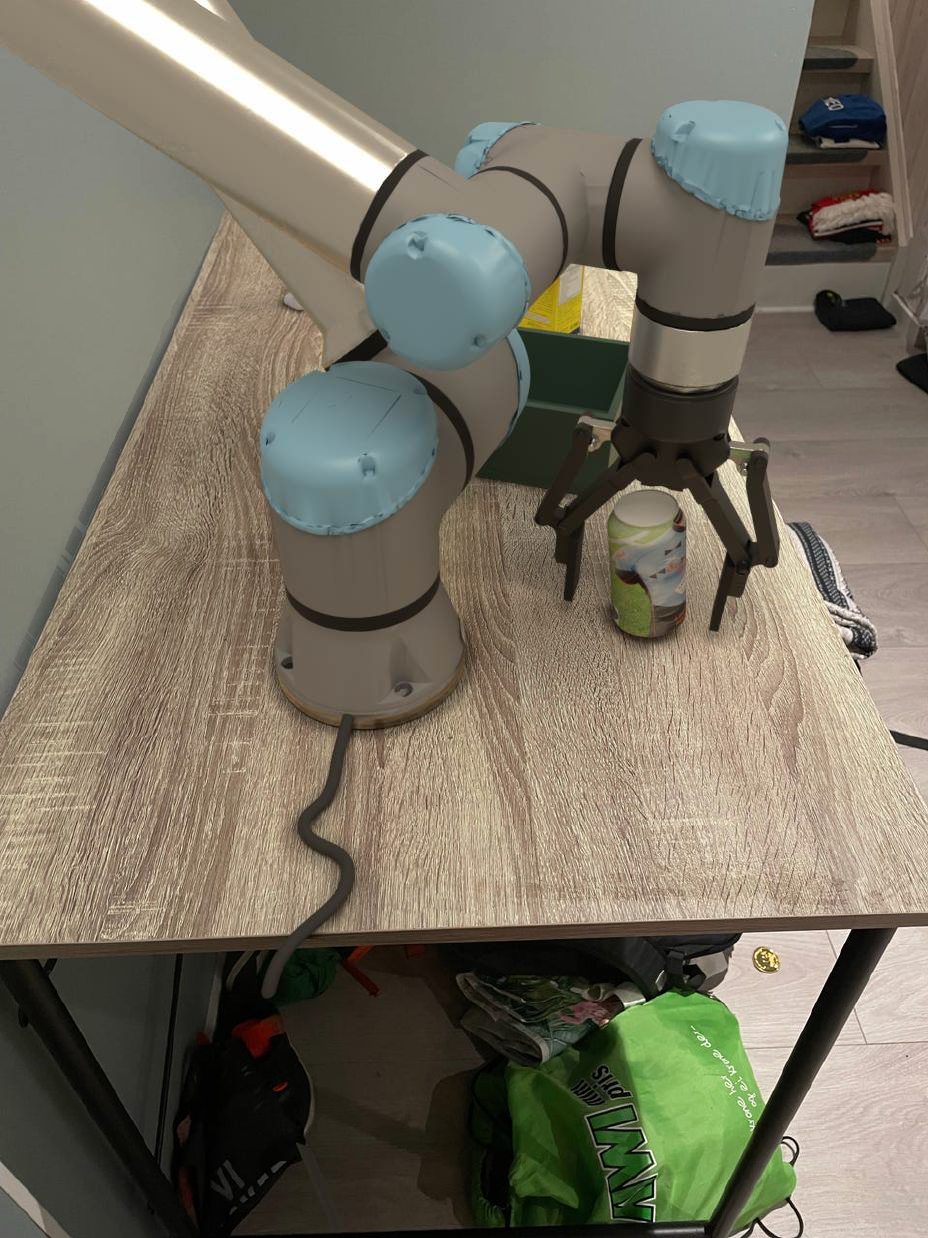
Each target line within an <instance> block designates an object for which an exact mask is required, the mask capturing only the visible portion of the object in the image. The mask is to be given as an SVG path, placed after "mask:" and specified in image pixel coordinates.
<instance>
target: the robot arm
mask: <svg viewBox="0 0 928 1238" xmlns="http://www.w3.org/2000/svg"><path fill="white" fill-rule="evenodd" d="M0 48H1V49H2V50H5V51H6V52H8V53H9V54H11V55H12V56H13V57H15V58H17V59H18V60H20V61H21V62H23V63H25V65H28V66H29V67H30V68H32V69H34V70H35V71H36V72H38V73H40V74H41V75H43V76H44V77H45V78H47V79H48V80H50V81H52V82H53V83H55V84H56V85H58V86H59V87H61V88H62V89H64V90H65V91H66V92H69V93H70V94H72V95H73V96H74V97H76V98H77V99H79V100H80V101H82V102H84V103H86V104H87V105H88V106H90V107H92V108H93V109H95V110H96V111H98V112H99V113H100V114H102V115H103V116H105V117H107V118H108V119H110V120H112V121H113V122H114V123H116V124H117V125H119V126H121V127H122V128H124V129H125V130H126V131H128V132H130V133H131V134H133V135H134V136H136V137H137V138H138V139H141V140H142V141H143V142H145V143H146V144H148V145H149V146H151V147H153V148H154V149H155V150H157V151H158V152H160V153H161V154H162V155H164V156H166V157H167V158H169V159H171V160H172V161H173V162H175V163H177V164H179V165H180V166H181V167H183V168H185V169H186V170H187V171H189V172H190V173H192V174H193V175H195V176H196V177H198V178H200V179H202V181H204V182H205V183H206V184H207V186H208V187H209V188H210V189H211V191H212V192H213V194H214V195H215V196H216V198H217V199H218V200H219V201H220V202H221V204H222V205H223V206H224V208H225V210H227V212H228V214H230V216H231V217H232V218H233V220H234V221H235V222H236V223H237V225H238V226H239V228H240V229H241V230H242V232H243V233H244V234H245V235H246V236H247V238H248V239H249V240H250V242H251V244H252V245H253V246H254V247H255V248H256V249H257V251H258V252H259V253H260V255H261V256H262V257H263V259H264V260H265V261H266V263H267V264H268V265H269V266H270V268H271V269H272V271H273V272H274V273H275V275H276V276H277V277H278V279H279V280H280V281H281V283H282V282H283V284H284V285H285V286H286V287H287V288H286V290H288V291H289V293H291V294H292V295H293V297H294V298H295V299H296V301H297V302H298V303H299V305H300V306H301V307H302V308H303V310H302V311H304V313H305V314H306V315H307V317H308V318H309V319H310V320H311V321H312V323H313V325H315V328H317V330H318V331H319V332H320V333H321V338H322V350H321V351H322V352H321V363H320V366H321V367H322V369H323V370H324V371H321V370H318V369H315V370H312V371H310V372H308V373H306V374H304V375H302V376H300V377H298V378H297V379H296V380H294V381H292V382H291V383H290V384H288V385H287V386H285V388H283V389H282V390H280V392H279V393H278V394H277V395H276V397H275V398H274V399H273V400H272V402H271V403H270V405H268V408H267V409H266V411H265V414H264V416H263V418H262V422H261V425H260V430H259V451H260V479H261V483H262V489H263V492H264V495H265V497H266V500H267V505H268V510H269V515H270V520H271V524H272V525H271V526H272V530H273V535H274V541H275V545H276V550H277V555H278V560H279V565H280V570H281V573H282V574H281V575H282V580H283V584H284V589H285V590H284V591H285V597H284V601H283V606H282V609H281V614H280V618H279V622H278V626H277V631H276V634H275V638H274V643H273V660H274V666H275V670H276V675H277V678H278V683H279V685H280V687H281V689H282V691H283V693H284V695H285V696H286V697H287V699H288V700H289V701H290V702H291V703H292V705H294V706H295V707H296V708H297V709H299V711H301V712H302V713H303V714H305V715H307V716H309V717H310V718H312V719H314V720H317V721H319V722H321V723H324V724H327V725H331V726H334V727H338V730H337V735H336V738H335V742H334V746H333V749H332V753H331V758H330V762H329V768H328V773H327V778H326V782H325V784H324V788H323V790H322V791H321V794H319V796H318V797H317V798H316V799H315V800H314V801H313V802H311V803H310V804H309V805H308V806H307V807H306V808H305V809H304V810H303V811H302V813H301V814H300V816H299V817H298V820H297V826H296V827H297V832H298V835H299V837H300V839H301V840H302V842H303V843H305V845H306V846H307V847H310V848H311V849H312V850H315V852H318V853H321V854H323V855H324V856H327V857H329V858H331V859H333V860H334V861H335V862H336V863H338V865H339V866H340V879H339V883H338V885H337V887H336V890H335V891H334V893H333V894H332V895H331V897H330V898H329V899H328V900H327V901H326V902H325V903H324V904H322V905H321V906H320V907H319V908H318V909H317V910H315V912H313V914H311V915H310V916H309V917H307V918H306V919H305V920H304V921H303V922H302V923H301V924H300V925H298V927H296V928H295V929H294V930H293V931H292V932H291V933H290V934H289V935H288V936H287V937H286V939H285V940H284V941H283V942H282V944H280V946H279V947H278V949H277V950H276V952H275V954H274V955H273V957H272V959H271V960H270V963H269V965H268V968H267V970H266V972H265V975H264V978H263V982H262V986H261V991H260V992H261V996H262V998H264V999H266V1000H267V999H270V998H272V997H273V996H274V995H276V992H277V988H278V986H279V982H280V978H281V976H282V973H283V971H284V968H285V966H286V964H287V963H288V961H289V960H290V958H291V957H292V955H293V954H294V953H295V951H296V950H297V949H298V948H299V947H300V946H301V944H303V943H304V941H306V940H307V939H308V938H309V937H311V935H312V934H313V933H314V932H316V930H318V929H319V928H320V927H321V926H323V925H324V924H325V923H326V922H327V921H328V920H329V919H331V917H333V915H335V914H336V913H337V912H338V911H339V910H340V908H341V907H342V906H343V904H344V903H345V902H346V900H347V899H348V897H349V896H350V894H351V892H352V889H353V886H354V882H355V874H356V873H355V872H356V869H355V864H354V860H353V858H352V857H351V855H350V853H348V852H347V851H346V849H344V848H342V846H339V845H338V844H335V843H334V842H332V841H329V840H327V839H325V838H323V837H321V836H320V835H318V834H316V833H315V832H313V830H312V826H311V825H312V824H311V823H312V821H313V820H314V819H315V818H316V817H317V816H318V815H319V814H320V813H322V812H323V811H324V810H325V809H326V808H327V807H328V806H329V805H330V804H331V802H332V801H333V799H334V797H335V795H336V793H337V790H338V787H339V785H340V781H341V778H342V777H341V776H342V772H343V763H344V759H345V755H346V750H347V747H348V743H349V739H350V735H351V731H352V730H375V729H384V728H389V727H394V726H398V725H403V724H404V723H408V722H411V721H413V720H415V719H418V718H420V717H421V716H423V715H426V714H427V713H429V712H431V711H432V710H433V709H435V708H437V706H439V705H440V704H441V703H443V702H444V701H445V700H446V699H447V697H449V696H450V694H451V693H452V692H453V691H454V690H455V688H456V687H457V685H458V683H459V681H460V679H461V678H462V675H463V673H464V669H465V665H466V664H465V663H466V645H467V640H466V633H465V627H464V626H465V625H464V620H463V619H464V618H463V616H462V614H461V612H460V609H459V608H457V609H458V613H457V611H456V609H455V607H454V605H453V602H452V600H451V598H450V596H449V594H448V591H447V589H446V587H445V585H444V583H443V581H442V578H441V553H440V552H441V551H440V527H441V524H442V521H443V519H444V517H445V514H446V513H447V512H448V510H449V509H450V508H451V507H452V506H453V504H454V502H455V501H456V500H457V499H458V497H459V496H460V495H461V494H462V492H463V491H464V490H465V489H466V488H467V487H468V485H469V484H470V483H471V482H472V480H473V479H474V478H475V477H476V476H475V475H476V474H477V472H478V471H479V470H480V468H481V467H482V466H483V465H484V463H485V462H486V461H487V459H488V458H489V457H490V455H491V454H492V453H493V452H494V450H497V449H498V448H499V447H500V446H501V445H502V444H503V442H504V441H505V440H506V439H507V437H508V436H509V435H510V433H511V432H512V430H513V428H514V426H515V423H516V421H517V419H518V417H519V415H520V414H521V412H522V410H523V408H524V406H525V403H526V401H527V397H528V392H529V386H530V366H529V360H528V355H527V352H526V349H525V346H524V344H523V341H522V339H521V337H520V335H519V333H518V332H517V330H516V327H518V325H519V324H520V323H521V321H522V320H523V318H524V316H525V314H526V312H527V311H528V310H529V308H530V307H531V306H532V305H533V304H534V303H535V302H536V300H537V299H538V298H539V297H540V296H541V295H542V294H543V293H544V292H545V290H547V289H548V288H549V287H550V286H551V285H552V284H553V283H554V282H555V281H556V280H557V279H558V278H559V276H560V275H561V274H562V273H563V272H564V271H565V270H566V269H567V268H568V267H569V265H570V264H576V265H583V266H585V267H589V268H596V269H600V270H601V269H603V270H608V271H614V272H618V273H619V272H628V273H632V274H636V290H635V298H634V303H633V310H632V319H631V327H630V334H629V342H630V343H629V351H628V358H629V364H628V365H627V368H626V374H625V382H624V390H623V398H622V406H621V414H620V417H619V418H618V419H617V420H616V422H609V421H603V420H597V419H596V415H595V414H594V413H593V412H591V411H584V412H583V413H582V414H581V416H580V418H579V420H578V423H577V425H576V427H575V430H574V432H573V440H572V448H571V449H570V451H569V453H568V455H567V456H566V458H565V460H564V462H563V463H562V465H561V467H560V469H559V470H558V472H557V474H556V476H555V477H554V479H553V481H552V483H551V484H550V486H549V488H548V489H546V491H545V493H544V495H543V497H542V498H541V501H540V503H539V505H538V508H537V510H536V512H535V515H534V517H533V522H534V524H535V525H537V526H539V527H546V526H548V527H550V528H552V529H553V531H554V532H555V545H554V547H555V548H554V557H553V559H554V560H555V563H556V564H559V565H560V564H561V565H566V567H565V574H564V575H565V577H564V586H563V596H562V597H563V598H562V601H564V602H570V603H573V601H574V598H575V595H576V592H577V590H578V585H579V583H580V576H581V575H580V573H581V567H582V557H583V556H582V555H583V547H584V537H585V529H586V527H585V526H586V521H587V520H588V519H589V518H591V516H592V515H594V514H595V513H596V512H597V511H598V510H599V509H600V508H602V507H603V506H604V505H605V504H606V503H608V502H609V501H610V500H611V499H612V498H613V497H614V496H615V495H616V494H618V493H619V492H622V491H625V489H627V488H628V487H629V486H630V485H631V484H632V483H633V482H634V481H635V480H636V481H638V482H639V483H640V486H643V487H650V488H652V487H663V488H665V489H668V490H670V491H673V492H679V493H680V492H681V493H683V492H684V490H688V491H689V492H690V494H691V496H692V497H693V499H694V501H695V503H696V504H697V505H699V506H701V508H702V509H703V511H704V513H705V515H706V517H707V519H708V520H709V522H710V524H711V526H712V528H713V529H714V530H715V532H716V534H717V537H718V538H719V540H720V541H721V543H722V545H723V547H724V548H725V550H726V553H725V556H724V560H723V565H722V568H721V572H720V577H719V581H718V585H717V589H716V593H715V597H714V601H713V605H712V609H711V615H710V620H709V626H708V631H711V632H717V633H718V632H719V630H720V626H721V622H722V619H723V615H724V611H725V607H726V603H727V599H728V597H731V598H736V599H740V598H741V597H742V596H743V595H744V593H745V589H746V586H747V582H748V578H749V575H750V574H751V572H752V568H754V567H757V566H763V567H764V568H766V569H773V568H776V567H777V566H778V564H779V559H780V550H781V549H780V548H781V539H780V534H779V529H778V523H777V518H776V514H775V507H774V502H773V498H772V492H771V487H770V481H769V477H768V472H767V469H768V464H769V457H770V452H771V451H770V449H771V442H770V440H769V438H766V437H763V436H762V437H761V436H760V437H756V439H754V440H753V442H745V441H739V440H738V441H737V440H732V438H731V437H732V436H731V435H730V432H729V431H730V430H729V428H730V423H731V419H732V415H733V408H734V404H735V401H736V396H737V391H738V387H739V382H740V381H739V380H740V379H739V378H740V377H739V373H740V372H741V371H742V368H743V365H744V359H745V354H746V349H747V345H748V342H749V337H750V333H751V328H752V323H753V319H754V315H755V308H756V303H757V299H758V294H759V291H760V286H761V282H762V278H763V274H764V269H765V264H766V260H767V258H768V257H767V256H768V253H769V248H770V244H771V241H772V237H773V232H774V227H775V225H776V224H775V223H776V219H777V215H778V211H779V209H780V205H781V197H780V194H781V189H782V182H783V177H784V170H785V167H786V166H785V165H786V159H787V154H788V147H789V132H788V128H787V126H786V124H785V122H784V120H783V119H782V118H781V117H780V116H779V115H778V114H777V113H775V112H774V111H772V110H771V109H768V108H766V107H764V106H762V105H759V104H754V103H751V102H746V101H740V100H739V101H738V100H731V99H718V100H706V99H695V100H689V101H688V100H687V101H683V102H680V103H677V104H675V105H672V106H670V107H667V109H666V110H664V111H663V112H662V114H661V115H660V116H659V119H658V121H657V125H656V128H655V129H656V130H655V132H654V133H653V135H652V137H644V138H638V137H630V136H622V135H616V134H615V135H614V134H606V133H600V132H592V131H585V130H578V129H570V128H562V127H555V126H554V127H553V126H547V125H543V124H542V123H539V122H536V123H535V122H534V121H531V120H521V121H519V122H506V121H505V122H504V121H501V122H500V121H487V122H482V123H480V124H479V125H477V126H476V127H474V128H473V129H471V131H470V132H469V133H468V135H467V136H466V137H465V140H464V145H463V148H462V149H460V150H459V151H458V153H457V156H456V160H455V163H454V166H453V169H452V168H451V167H449V166H447V165H445V164H444V163H442V162H441V161H439V160H437V159H436V158H434V157H432V156H431V155H429V154H428V153H426V152H425V151H423V150H421V149H420V148H418V147H416V146H415V145H414V144H413V143H411V142H409V141H408V140H406V139H405V138H403V137H401V136H400V135H398V134H397V133H395V132H394V131H392V130H391V129H390V128H388V127H387V126H385V125H383V124H382V123H381V122H379V121H378V120H376V119H375V118H373V117H371V116H370V115H369V114H367V113H365V112H364V111H362V110H361V109H360V108H358V107H356V106H355V105H353V104H352V103H350V102H349V101H347V100H346V99H345V98H343V97H341V96H339V95H338V94H337V93H336V92H334V91H332V90H331V89H329V88H328V87H326V86H324V85H323V84H322V83H320V82H318V80H315V79H314V78H313V77H311V76H309V75H308V74H306V73H305V72H303V71H302V70H301V69H299V68H297V67H296V66H295V65H293V64H292V63H290V62H288V61H287V60H286V59H284V58H282V57H281V56H279V55H278V54H276V53H275V52H273V51H272V50H270V49H269V48H268V47H266V46H265V45H263V44H261V43H260V42H258V41H257V40H256V39H254V37H253V36H252V34H251V32H250V31H249V30H248V28H247V27H246V26H245V24H244V23H243V22H242V20H241V19H240V17H239V16H238V15H237V13H236V11H235V10H234V8H233V7H232V6H231V5H230V3H229V2H228V0H0ZM607 440H611V443H612V445H613V446H614V448H615V450H616V451H617V453H618V454H619V456H618V458H617V459H616V460H615V462H614V463H613V464H612V465H611V466H610V467H609V468H608V469H607V470H606V471H605V472H603V473H602V474H601V475H600V476H599V477H598V478H597V479H596V480H595V481H594V482H593V483H591V484H590V485H589V486H588V487H587V488H586V489H585V490H584V491H583V492H582V493H581V494H577V496H576V497H575V498H574V499H573V500H571V501H570V502H569V503H565V504H564V506H561V505H560V504H561V503H562V501H563V499H564V497H565V496H566V495H567V493H568V492H567V491H568V489H569V487H570V486H571V484H572V482H573V481H574V479H575V477H576V476H577V474H578V472H579V470H580V469H581V467H582V465H583V463H584V462H585V459H586V457H587V454H588V452H589V451H590V452H592V451H594V450H597V449H599V448H600V446H601V444H602V443H603V442H604V441H607ZM728 460H730V461H732V462H733V463H734V464H735V467H736V471H737V472H738V473H739V475H740V476H741V477H746V478H745V490H746V492H745V493H746V496H747V501H748V506H749V510H750V515H751V520H752V524H753V530H754V534H755V540H756V541H754V540H753V538H752V537H751V535H750V533H749V531H748V529H747V528H746V526H745V524H744V522H743V521H742V519H741V517H740V515H739V513H738V512H737V510H736V508H735V506H734V504H733V502H732V500H731V499H730V497H729V495H728V493H727V492H726V489H725V488H724V486H723V484H722V483H721V479H720V475H719V472H718V470H717V469H718V468H720V467H722V466H723V465H724V464H725V463H726V462H727V461H728ZM295 1143H296V1147H297V1149H298V1152H299V1154H300V1157H301V1159H302V1161H303V1163H304V1166H305V1168H306V1170H307V1172H308V1175H309V1177H310V1179H311V1182H312V1183H313V1186H314V1188H315V1191H316V1193H317V1195H318V1197H319V1200H320V1202H321V1204H322V1207H323V1209H324V1212H325V1214H326V1217H327V1221H328V1223H329V1226H330V1229H331V1231H333V1232H339V1230H340V1229H341V1221H340V1218H339V1215H338V1212H337V1208H336V1206H335V1203H334V1201H333V1198H332V1196H331V1193H330V1190H329V1188H328V1186H327V1183H326V1181H325V1179H324V1176H323V1174H322V1171H321V1169H320V1166H319V1164H318V1162H317V1159H316V1157H315V1154H314V1152H313V1148H312V1147H310V1146H307V1145H304V1144H302V1143H299V1142H295Z"/></svg>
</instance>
